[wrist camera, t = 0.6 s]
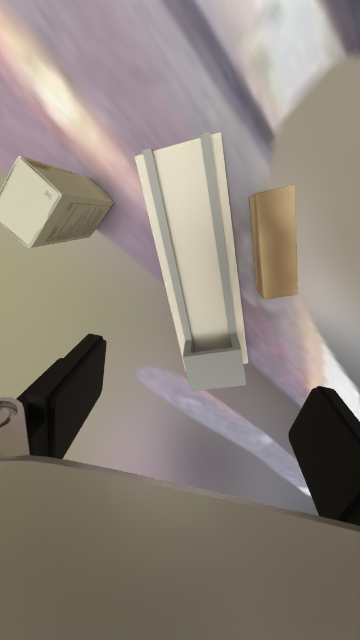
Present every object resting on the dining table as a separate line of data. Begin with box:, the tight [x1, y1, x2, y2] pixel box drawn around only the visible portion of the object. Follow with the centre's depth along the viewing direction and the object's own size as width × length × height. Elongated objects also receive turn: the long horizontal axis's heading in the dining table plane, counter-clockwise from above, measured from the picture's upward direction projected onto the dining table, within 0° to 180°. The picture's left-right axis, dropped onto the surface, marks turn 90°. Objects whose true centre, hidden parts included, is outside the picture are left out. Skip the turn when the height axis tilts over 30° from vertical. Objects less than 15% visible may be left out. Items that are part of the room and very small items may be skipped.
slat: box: [249, 185, 298, 300], centre depth 29 cm, size 4×12×4 cm, turn 11°
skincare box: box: [0, 156, 114, 248], centre depth 26 cm, size 6×4×12 cm
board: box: [135, 131, 248, 391], centre depth 30 cm, size 10×30×7 cm, turn 12°
